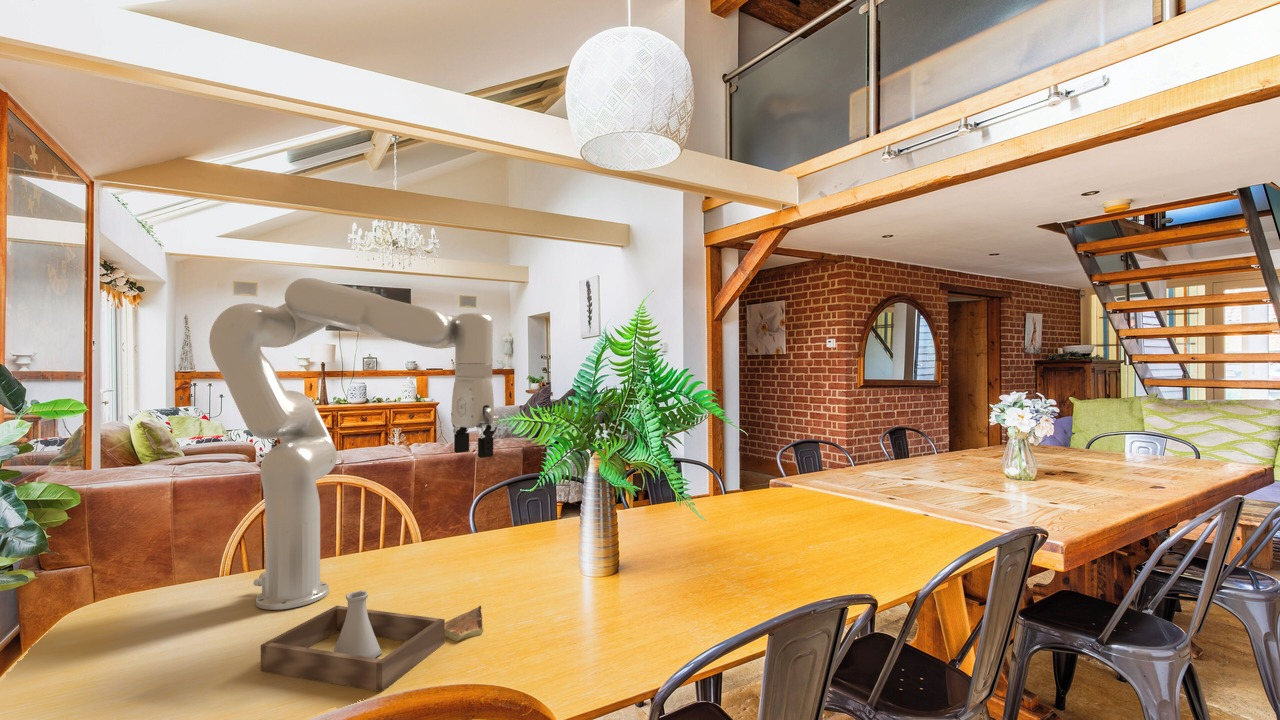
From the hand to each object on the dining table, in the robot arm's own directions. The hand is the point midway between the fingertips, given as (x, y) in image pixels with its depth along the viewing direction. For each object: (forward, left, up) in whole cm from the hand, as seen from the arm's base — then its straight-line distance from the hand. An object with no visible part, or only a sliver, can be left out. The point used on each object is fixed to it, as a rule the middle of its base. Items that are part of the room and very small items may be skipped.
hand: (473, 454), depth 121 cm
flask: (-3, -30, -28) cm, 41 cm away
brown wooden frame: (-3, -30, -28) cm, 41 cm away
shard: (+7, -16, -29) cm, 34 cm away
